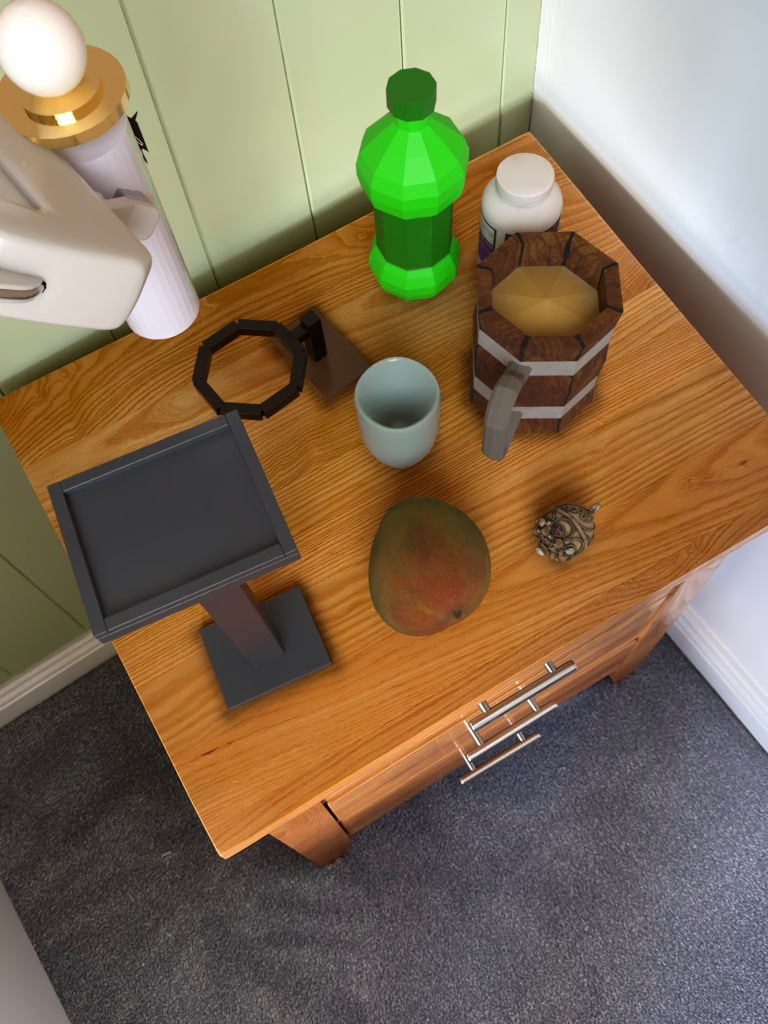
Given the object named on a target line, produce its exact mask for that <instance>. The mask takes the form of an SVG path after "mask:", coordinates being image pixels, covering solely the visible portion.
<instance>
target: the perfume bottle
mask: <svg viewBox="0 0 768 1024" xmlns="http://www.w3.org/2000/svg"><path fill="white" fill-rule="evenodd" d="M0 68H1V70H2V71H3V73H4V75H3V76H2V77H1V79H0V113H1V114H2V115H3V116H4V117H5V118H6V119H7V120H8V122H9V123H10V124H11V125H12V126H13V127H14V128H15V129H16V130H17V132H18V133H19V134H20V135H22V136H24V137H25V138H27V139H29V140H30V141H32V142H34V143H36V144H38V145H40V146H42V147H44V148H46V149H56V150H57V151H58V152H59V153H60V154H61V155H62V156H63V157H64V159H65V160H66V161H67V162H68V163H69V164H70V165H71V166H72V167H73V168H74V170H75V171H76V172H77V173H78V174H79V175H80V176H81V177H82V178H83V179H84V180H85V182H86V183H87V184H88V185H89V186H90V187H91V188H92V189H93V190H94V191H97V192H99V193H101V194H102V196H103V197H104V199H107V200H108V199H112V198H113V196H114V194H115V192H116V190H117V188H122V189H127V190H131V191H133V192H134V191H139V192H141V193H142V194H143V195H144V196H145V197H146V198H147V199H148V200H149V201H150V202H151V203H152V204H153V205H154V206H155V207H156V208H157V209H158V210H159V212H160V218H159V220H158V222H157V224H156V227H155V229H154V231H153V234H152V235H151V236H150V237H149V238H148V239H146V240H139V241H140V242H141V243H142V244H143V245H144V246H145V247H146V248H147V250H148V251H149V252H150V254H151V257H152V266H151V270H150V272H149V275H148V277H147V280H146V283H145V285H144V288H143V290H142V293H141V295H140V297H139V299H138V301H137V303H136V305H135V307H134V309H133V311H132V313H131V314H130V316H129V317H128V319H127V320H126V321H125V322H126V323H127V326H128V327H129V328H130V329H131V330H132V331H133V332H134V334H137V335H138V336H140V337H143V338H145V339H149V340H164V339H170V338H173V337H176V336H178V335H179V334H182V333H183V332H185V331H186V330H187V329H189V328H190V326H191V325H192V324H193V323H194V321H195V320H196V319H197V317H198V314H199V310H200V298H199V295H198V292H197V289H196V287H195V285H194V281H193V279H192V277H191V275H190V271H189V270H188V267H187V264H186V262H185V259H184V257H183V254H182V252H181V250H180V247H179V244H178V241H177V239H176V237H175V234H174V232H173V229H172V227H171V224H170V222H169V219H168V216H167V214H166V211H165V208H164V206H163V203H162V201H161V199H160V196H159V193H158V191H157V189H156V186H155V184H154V180H153V178H152V176H151V173H150V170H149V168H148V165H147V164H149V162H148V159H147V158H146V156H145V154H144V151H146V152H148V153H150V151H149V149H148V146H147V143H146V141H145V137H144V136H143V132H142V130H141V128H140V125H139V123H138V120H137V116H138V112H139V111H138V110H136V112H135V113H134V114H133V115H132V116H129V115H127V113H126V109H127V108H128V105H129V102H130V97H131V89H130V87H131V86H130V83H129V81H128V78H127V74H126V72H125V70H124V67H123V65H122V64H121V63H120V61H119V59H118V58H117V57H115V56H114V55H112V53H110V52H108V51H106V50H105V49H104V48H103V49H102V48H101V47H98V46H94V45H91V44H87V43H86V40H85V37H84V33H83V31H82V29H81V27H80V26H79V23H77V21H76V20H75V19H74V17H73V16H72V15H71V13H69V12H68V11H67V10H66V9H65V8H63V7H62V6H61V5H60V4H59V3H56V2H54V1H52V0H10V1H9V2H7V3H6V4H5V5H4V6H3V7H2V8H1V10H0ZM143 150H144V151H143Z"/></svg>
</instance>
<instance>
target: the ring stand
mask: <svg viewBox="0 0 768 1024" xmlns="http://www.w3.org/2000/svg"><path fill="white" fill-rule="evenodd" d="M241 336H245V337H246V336H248V337H263V338H269V339H270V342H271V345H272V346H273V347H274V348H275V349H276V350H277V351H278V352H279V353H280V354H281V355H282V357H284V358H285V360H286V361H287V362H288V363H289V364H290V365H291V368H290V369H291V370H290V374H289V381H288V383H287V384H286V385H284V386H283V387H282V388H281V389H280V388H279V390H277V391H276V392H275V393H273V394H272V395H271V396H269V397H268V398H266V399H265V400H264V401H262V402H261V403H251V402H250V403H249V402H236V401H235V402H233V401H224V400H223V398H222V397H221V396H220V395H219V394H218V392H216V391H215V389H214V388H213V387H212V386H211V385H210V384H209V382H208V379H209V375H210V370H211V366H212V360H213V356H214V355H215V354H217V352H219V351H220V350H222V349H223V348H224V347H226V346H228V345H229V344H231V343H232V342H233V341H235V340H237V339H238V338H239V337H241ZM201 344H202V345H198V348H197V353H196V357H195V362H194V367H193V371H192V376H191V381H192V386H193V388H194V390H195V392H196V393H197V394H198V395H199V396H200V397H201V399H203V400H204V402H205V403H206V404H207V405H208V407H209V408H211V410H212V411H213V412H214V413H215V415H216V416H217V417H219V416H221V415H225V414H226V413H229V412H231V411H234V410H238V413H239V415H240V417H241V420H242V421H259V422H262V421H264V418H265V419H266V420H269V419H271V418H272V417H274V416H275V415H276V414H278V413H279V412H280V411H281V410H284V409H285V408H286V407H287V406H288V405H289V404H292V403H293V402H294V401H295V400H297V399H298V398H300V397H301V395H300V393H303V391H304V386H305V381H306V382H307V383H308V384H309V385H310V386H311V387H312V389H313V390H314V391H315V392H316V393H317V394H318V395H319V396H320V397H321V398H322V399H323V401H325V402H326V404H330V403H331V402H333V401H334V400H336V399H338V398H339V397H340V396H341V395H343V394H344V393H346V391H348V390H349V389H351V388H352V387H354V386H356V385H357V382H358V381H359V379H360V377H361V376H362V375H363V373H364V372H365V371H366V370H367V369H368V368H370V367H371V366H372V365H371V364H370V363H369V362H368V361H367V360H366V359H365V358H364V357H363V356H362V355H361V354H360V353H359V352H358V351H357V350H356V349H355V348H354V346H353V345H351V344H350V343H349V342H348V341H347V340H346V339H345V338H344V336H342V335H341V334H340V333H339V332H338V330H336V328H335V327H334V326H333V325H332V324H331V323H330V322H329V321H328V320H327V319H326V318H325V317H324V316H323V315H322V314H321V313H320V312H319V311H318V310H317V309H316V308H315V307H314V308H310V309H309V310H307V311H305V312H304V313H302V314H301V315H300V316H298V318H297V319H295V320H294V321H293V322H291V323H290V324H288V325H287V326H285V325H284V324H283V323H282V322H278V320H272V319H271V320H269V319H254V318H253V319H252V318H251V319H250V318H238V319H237V322H236V320H234V319H233V320H231V321H230V322H229V323H226V325H224V326H223V327H221V328H220V329H218V330H217V331H215V332H213V334H211V335H209V336H207V338H205V339H203V340H202V341H201Z"/></svg>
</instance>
